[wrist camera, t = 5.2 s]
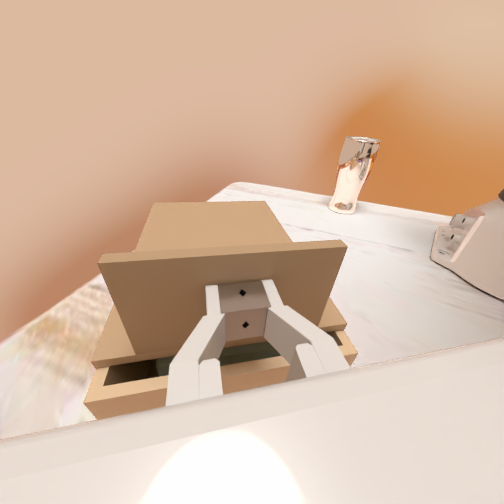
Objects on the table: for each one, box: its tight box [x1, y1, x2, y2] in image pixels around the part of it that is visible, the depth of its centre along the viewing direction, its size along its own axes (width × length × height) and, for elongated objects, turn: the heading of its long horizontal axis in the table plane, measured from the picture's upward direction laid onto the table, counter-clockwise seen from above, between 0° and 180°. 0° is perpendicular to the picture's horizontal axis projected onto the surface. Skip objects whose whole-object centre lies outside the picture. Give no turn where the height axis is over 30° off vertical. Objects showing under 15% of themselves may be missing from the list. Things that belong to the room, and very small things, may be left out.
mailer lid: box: [91, 201, 348, 368], centre depth 19 cm, size 20×14×6 cm
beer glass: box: [328, 136, 381, 214], centre depth 48 cm, size 7×7×15 cm
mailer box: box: [84, 330, 358, 420], centre depth 21 cm, size 20×14×8 cm
